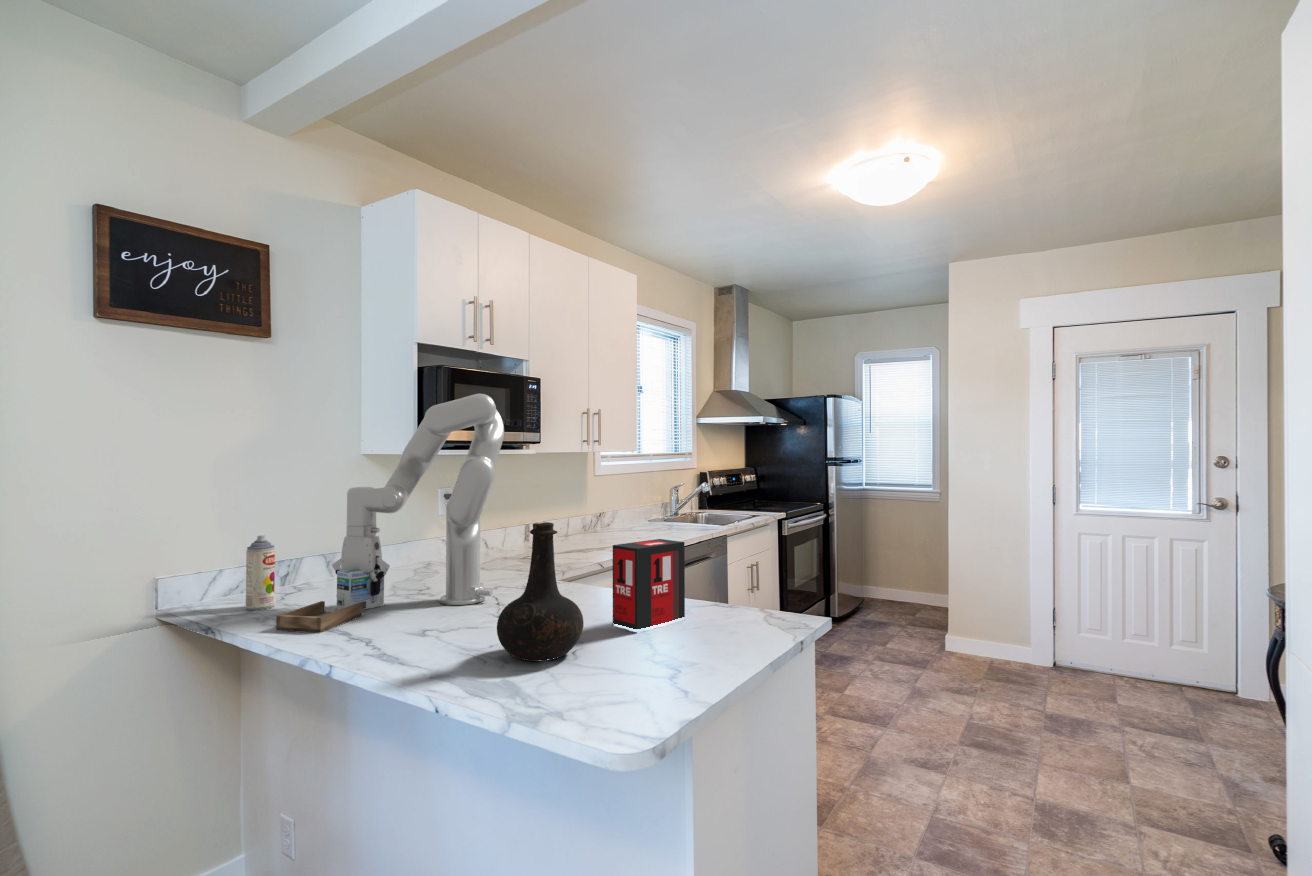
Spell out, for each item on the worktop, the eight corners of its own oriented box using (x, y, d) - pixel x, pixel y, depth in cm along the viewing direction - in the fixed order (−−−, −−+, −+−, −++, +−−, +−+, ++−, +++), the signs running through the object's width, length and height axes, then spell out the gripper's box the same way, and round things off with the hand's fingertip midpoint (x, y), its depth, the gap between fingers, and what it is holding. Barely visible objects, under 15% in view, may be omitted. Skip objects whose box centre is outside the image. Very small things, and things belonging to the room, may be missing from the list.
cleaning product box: (637, 633, 153) (637, 548, 154) (612, 626, 160) (612, 545, 160) (684, 620, 165) (684, 542, 165) (660, 614, 171) (659, 538, 172)
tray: (362, 616, 170) (362, 602, 170) (320, 632, 155) (320, 617, 155) (321, 614, 172) (321, 601, 172) (276, 630, 157) (276, 615, 157)
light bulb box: (350, 613, 173) (350, 572, 174) (335, 610, 177) (335, 570, 177) (385, 605, 182) (385, 566, 183) (370, 602, 186) (370, 564, 186)
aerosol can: (265, 610, 177) (266, 537, 177) (240, 610, 176) (241, 537, 177) (279, 604, 184) (280, 534, 184) (254, 604, 183) (255, 534, 184)
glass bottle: (479, 663, 132) (480, 525, 132) (527, 639, 148) (527, 517, 149) (556, 673, 125) (556, 528, 126) (597, 647, 142) (597, 519, 143)
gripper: (397, 530, 182) (396, 592, 182) (341, 529, 185) (340, 590, 185) (381, 533, 175) (381, 598, 174) (324, 532, 178) (323, 595, 177)
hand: (360, 594), depth 180 cm, fingers closed on light bulb box, 8 cm apart
